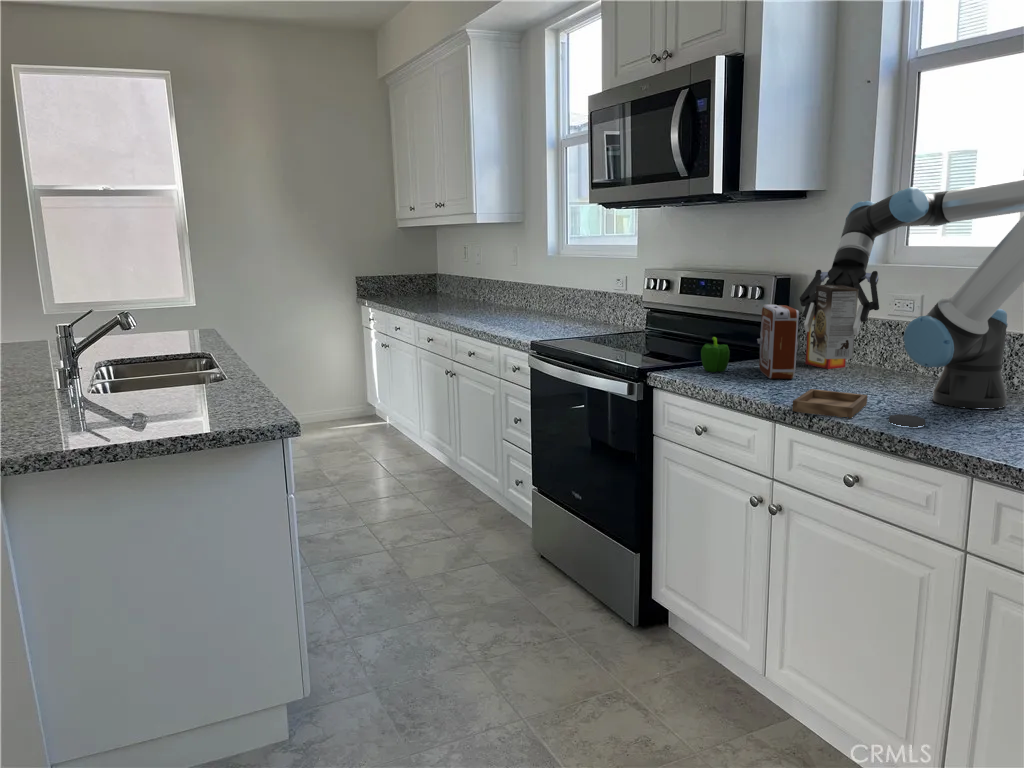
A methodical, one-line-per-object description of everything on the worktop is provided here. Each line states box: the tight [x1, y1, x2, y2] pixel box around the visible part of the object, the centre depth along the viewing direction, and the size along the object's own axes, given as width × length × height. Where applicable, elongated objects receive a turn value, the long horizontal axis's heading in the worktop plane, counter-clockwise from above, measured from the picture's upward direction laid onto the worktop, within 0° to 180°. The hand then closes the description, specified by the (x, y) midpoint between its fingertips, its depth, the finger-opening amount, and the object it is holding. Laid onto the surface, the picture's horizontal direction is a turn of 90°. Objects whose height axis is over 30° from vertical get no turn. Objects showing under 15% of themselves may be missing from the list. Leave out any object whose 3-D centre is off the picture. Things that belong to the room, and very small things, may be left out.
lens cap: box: [888, 414, 926, 427], centre depth 163 cm, size 7×7×2 cm
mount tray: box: [791, 388, 868, 419], centre depth 178 cm, size 13×15×2 cm
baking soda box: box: [804, 315, 847, 370], centre depth 228 cm, size 10×6×16 cm
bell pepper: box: [700, 336, 731, 373], centre depth 223 cm, size 8×8×10 cm
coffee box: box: [813, 284, 859, 360], centre depth 174 cm, size 9×6×16 cm
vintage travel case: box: [756, 304, 800, 380], centre depth 217 cm, size 9×19×20 cm, turn 174°
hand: (830, 329), depth 172 cm, fingers closed on coffee box, 10 cm apart
